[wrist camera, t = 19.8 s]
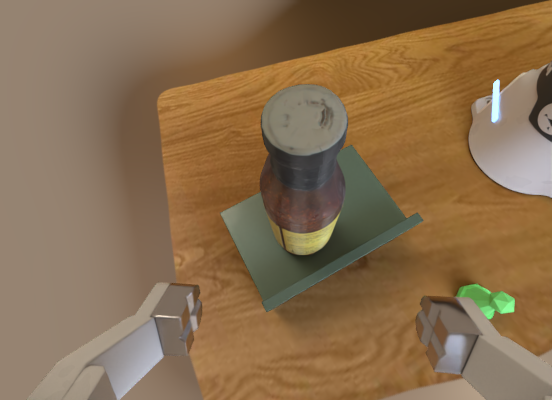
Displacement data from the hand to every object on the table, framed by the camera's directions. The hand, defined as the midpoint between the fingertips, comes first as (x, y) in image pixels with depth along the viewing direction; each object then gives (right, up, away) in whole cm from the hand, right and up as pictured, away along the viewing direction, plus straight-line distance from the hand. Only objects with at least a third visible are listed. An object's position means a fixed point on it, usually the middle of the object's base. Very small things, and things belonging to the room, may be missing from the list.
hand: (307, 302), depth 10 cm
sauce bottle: (+2, +1, +21) cm, 21 cm away
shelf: (+3, -1, +28) cm, 28 cm away
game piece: (+23, -9, +24) cm, 34 cm away
